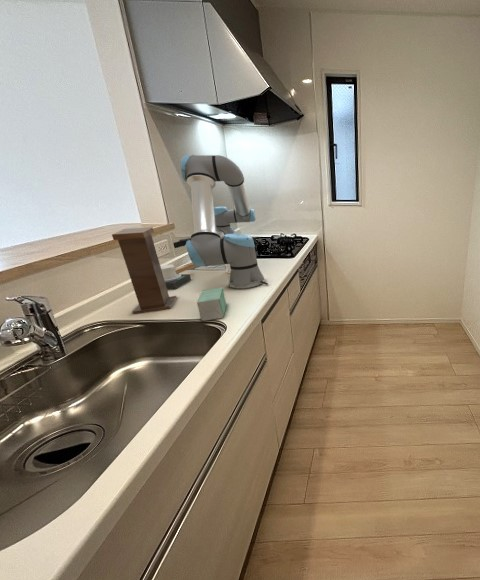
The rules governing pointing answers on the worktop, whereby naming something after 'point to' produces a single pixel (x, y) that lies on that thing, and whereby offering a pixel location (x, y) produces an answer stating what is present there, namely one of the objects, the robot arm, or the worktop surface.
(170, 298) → the shelf stand
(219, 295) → the box
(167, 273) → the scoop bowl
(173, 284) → the kitchen scale
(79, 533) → the worktop surface
